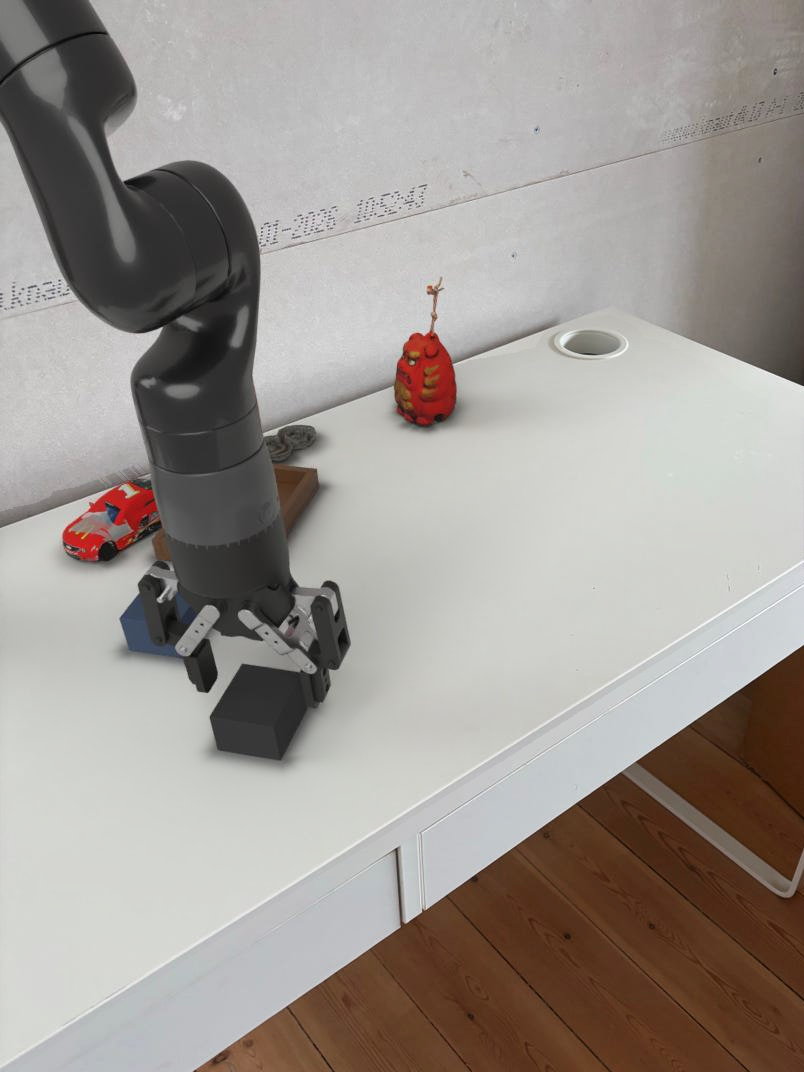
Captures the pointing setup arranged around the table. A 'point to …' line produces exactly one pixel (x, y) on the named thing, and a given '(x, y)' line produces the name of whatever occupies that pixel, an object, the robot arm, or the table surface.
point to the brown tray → (293, 497)
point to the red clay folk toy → (425, 376)
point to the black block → (259, 712)
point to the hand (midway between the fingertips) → (261, 692)
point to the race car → (113, 521)
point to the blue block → (138, 629)
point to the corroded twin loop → (289, 440)
